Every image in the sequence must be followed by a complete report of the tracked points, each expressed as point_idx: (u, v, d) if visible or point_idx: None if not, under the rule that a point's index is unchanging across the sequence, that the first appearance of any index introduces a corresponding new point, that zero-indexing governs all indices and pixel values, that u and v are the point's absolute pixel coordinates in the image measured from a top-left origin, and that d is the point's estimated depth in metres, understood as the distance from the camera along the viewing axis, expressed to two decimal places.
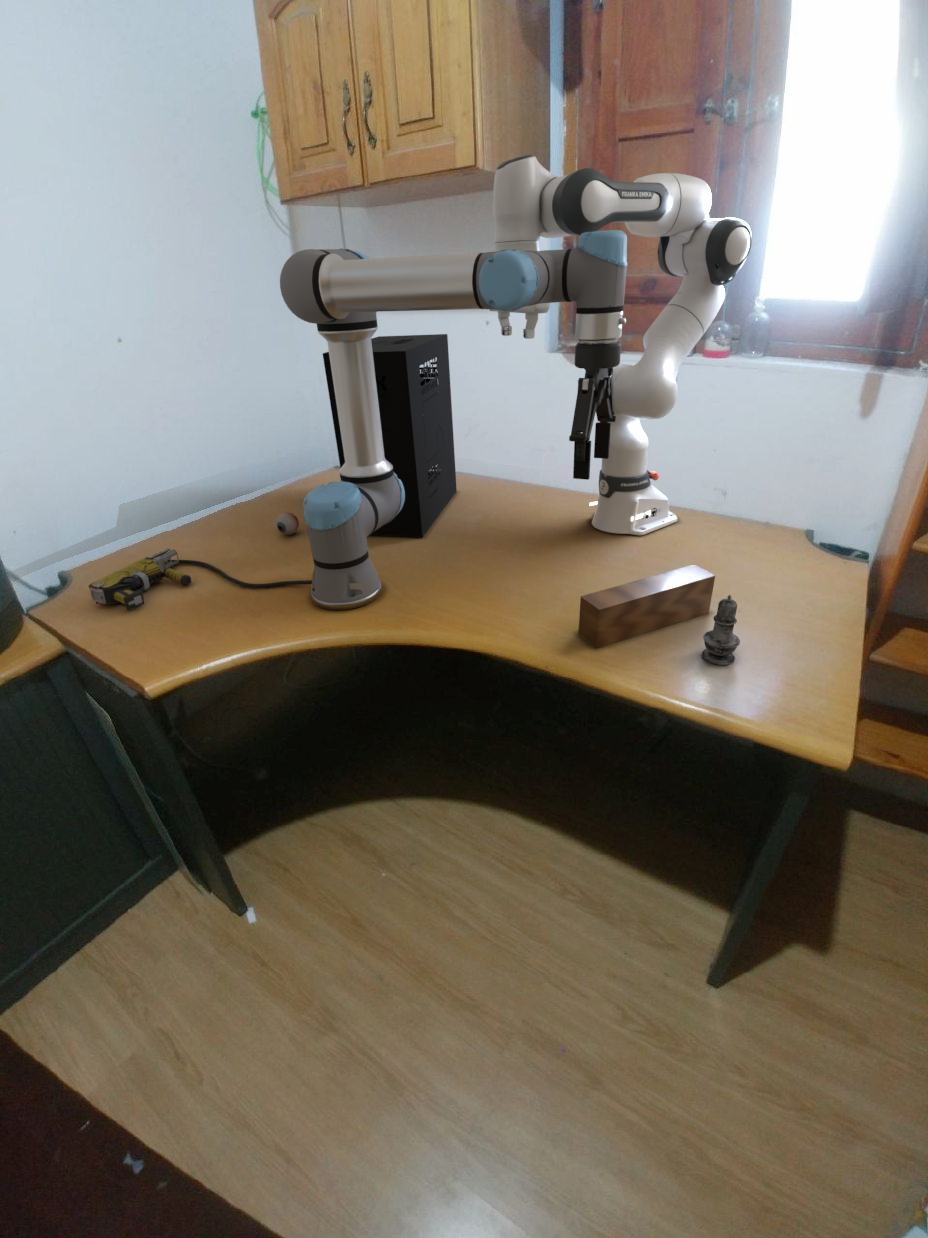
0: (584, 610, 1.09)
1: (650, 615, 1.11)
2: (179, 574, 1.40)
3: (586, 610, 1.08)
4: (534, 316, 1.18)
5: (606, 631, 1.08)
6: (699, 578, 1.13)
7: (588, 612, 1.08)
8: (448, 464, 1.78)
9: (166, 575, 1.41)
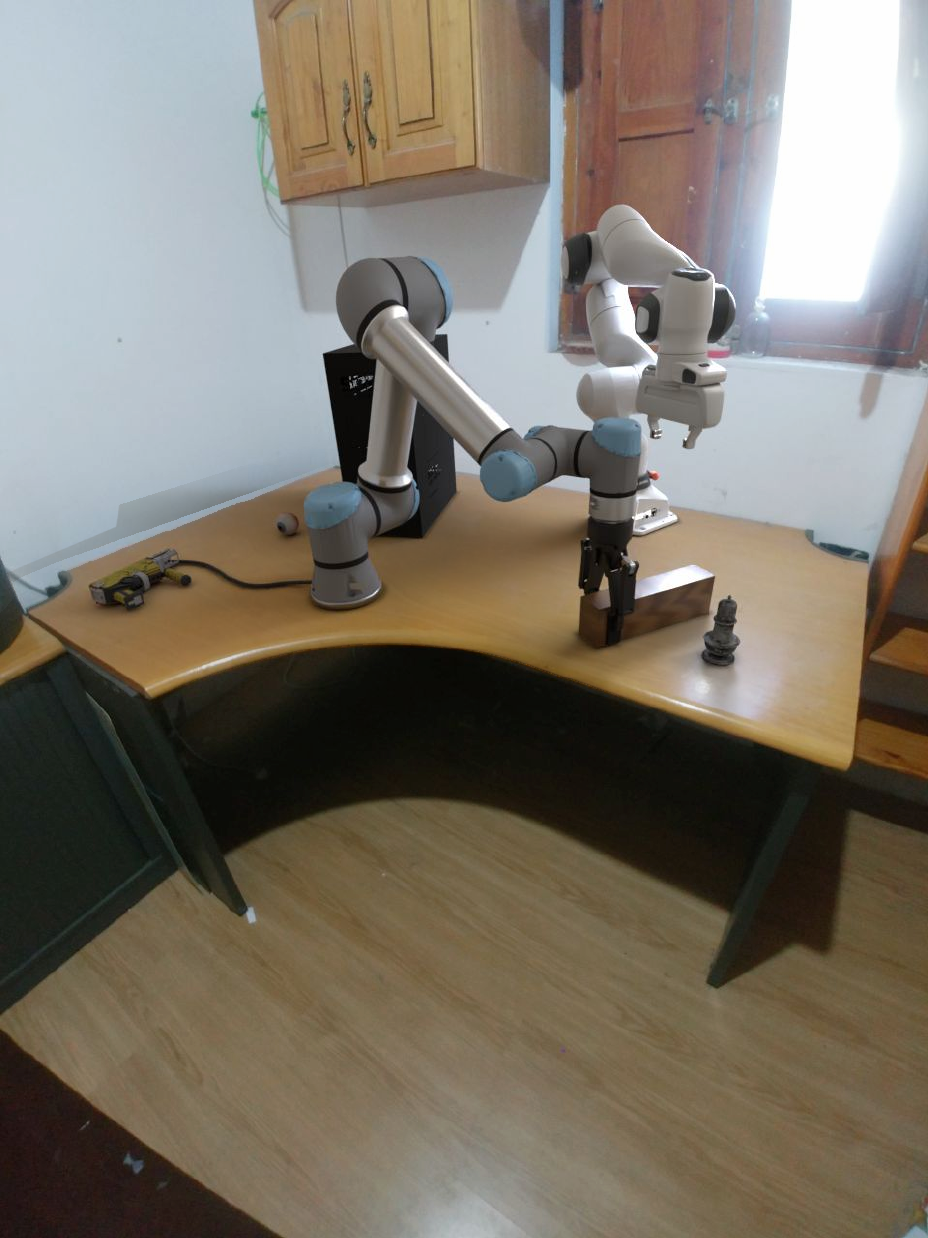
0: (584, 610, 1.09)
1: (650, 615, 1.11)
2: (179, 574, 1.40)
3: (586, 610, 1.08)
4: None
5: (606, 631, 1.08)
6: (699, 578, 1.13)
7: (588, 612, 1.08)
8: (448, 464, 1.78)
9: (166, 575, 1.41)
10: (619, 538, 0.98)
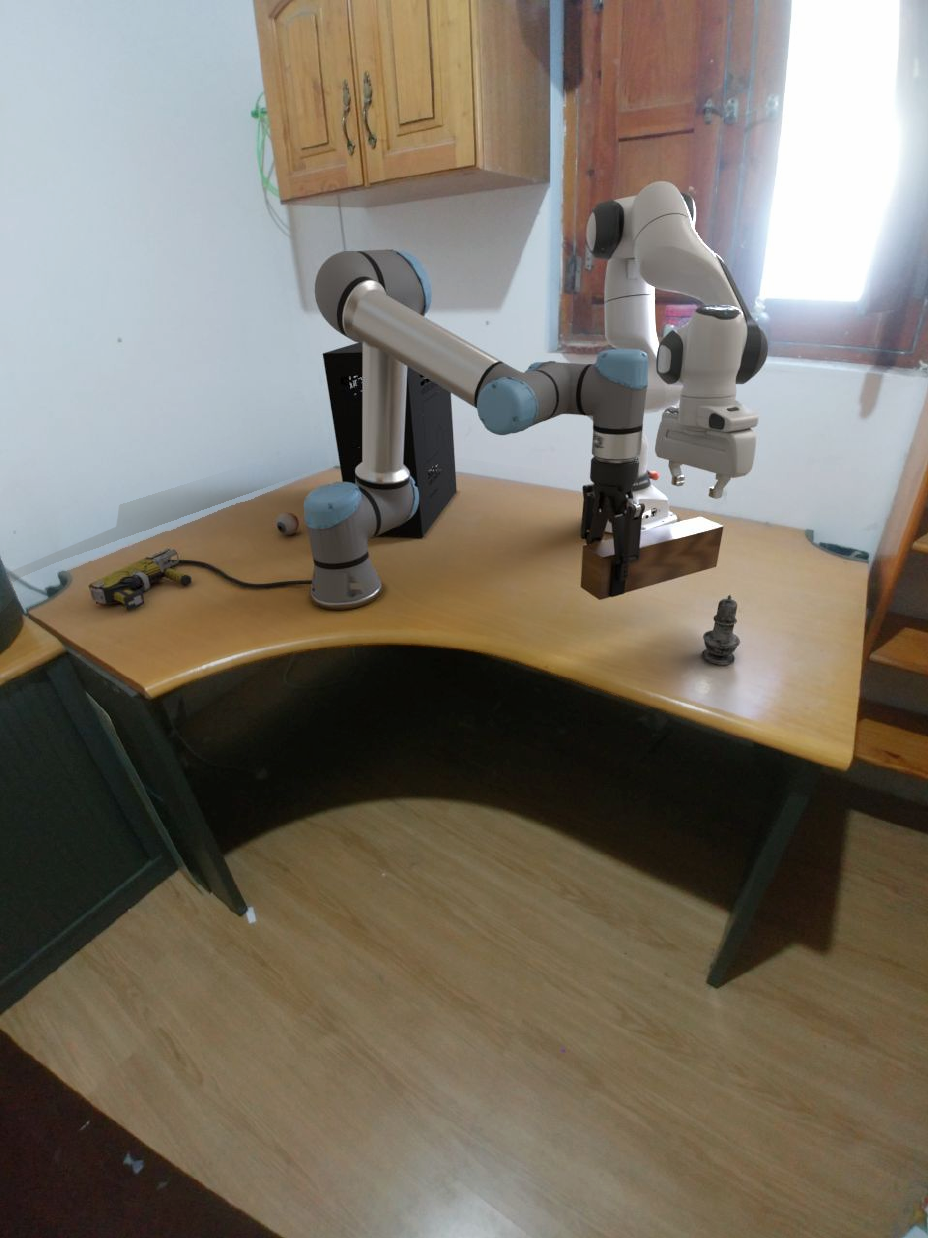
0: (586, 560, 1.04)
1: (655, 566, 1.06)
2: (179, 574, 1.40)
3: (589, 559, 1.03)
4: None
5: None
6: (707, 529, 1.08)
7: (591, 562, 1.03)
8: (448, 464, 1.78)
9: (166, 575, 1.41)
10: (624, 479, 0.93)
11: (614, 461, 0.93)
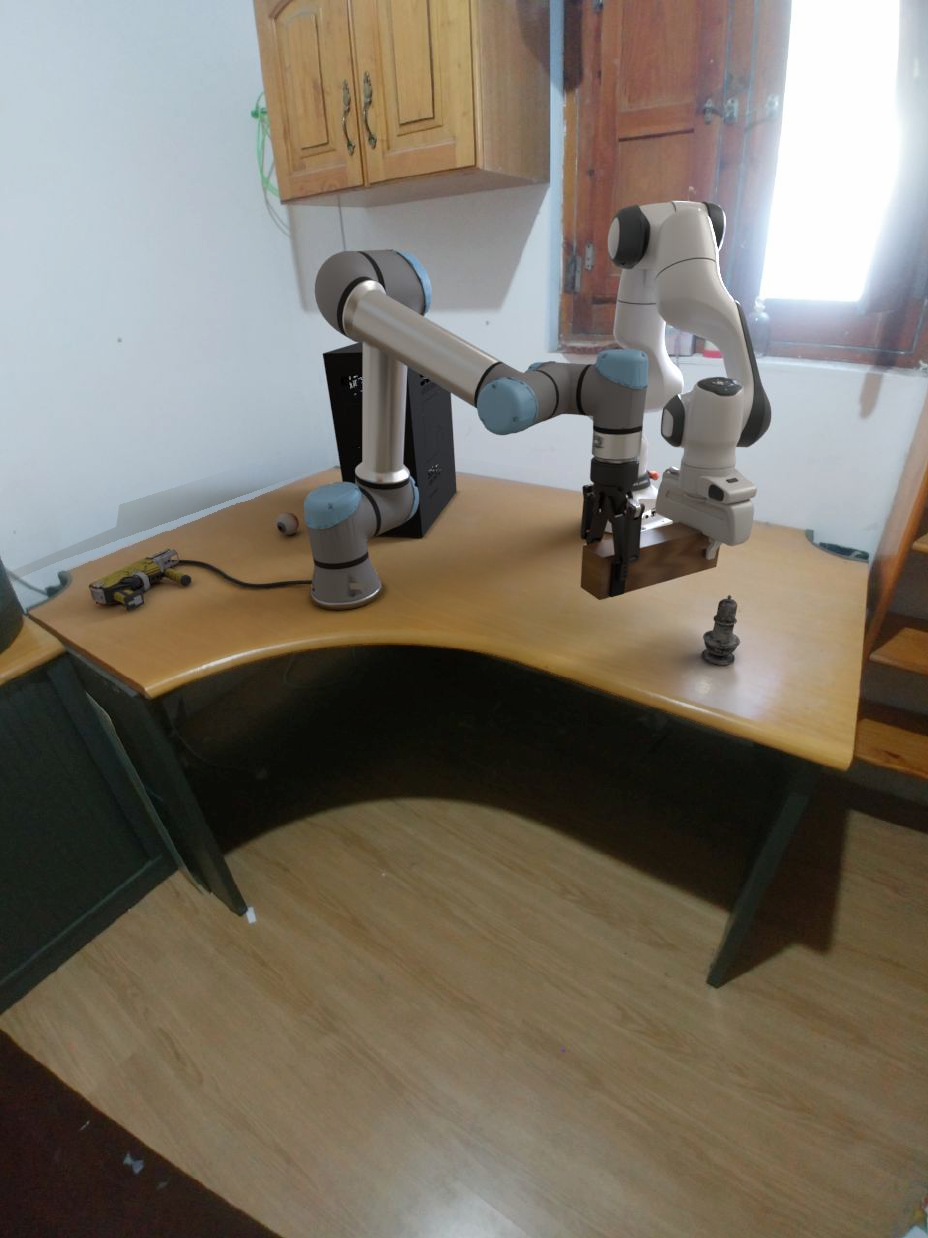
0: (586, 560, 1.04)
1: (655, 566, 1.06)
2: (179, 574, 1.40)
3: (589, 560, 1.03)
4: None
5: None
6: None
7: (591, 562, 1.03)
8: (448, 464, 1.78)
9: (166, 575, 1.41)
10: (624, 479, 0.93)
11: (614, 461, 0.93)
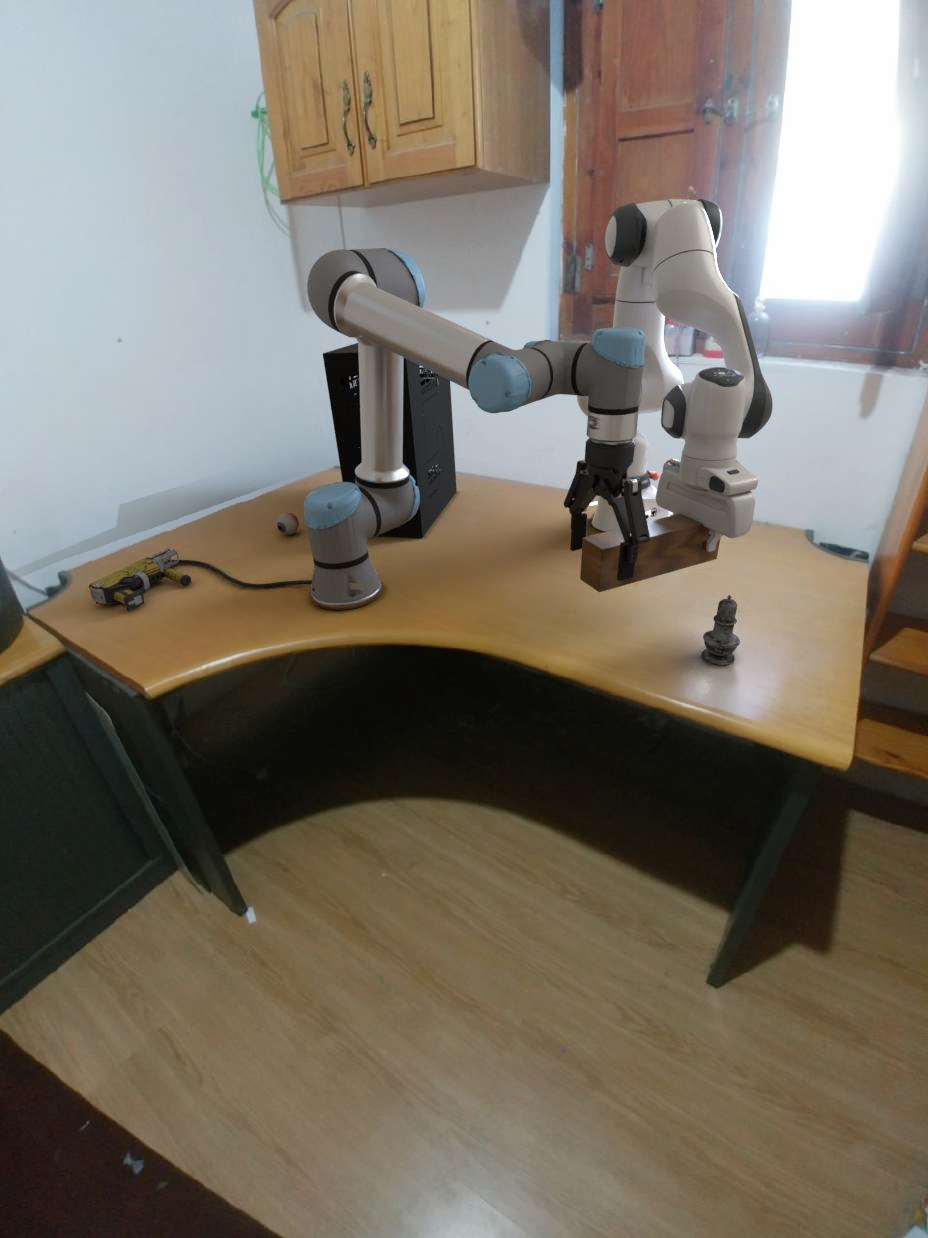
0: (586, 552, 1.04)
1: (655, 558, 1.05)
2: (179, 574, 1.40)
3: (589, 551, 1.03)
4: None
5: (610, 574, 1.02)
6: None
7: (591, 554, 1.02)
8: (448, 464, 1.78)
9: (166, 575, 1.41)
10: (620, 461, 0.92)
11: (609, 443, 0.91)
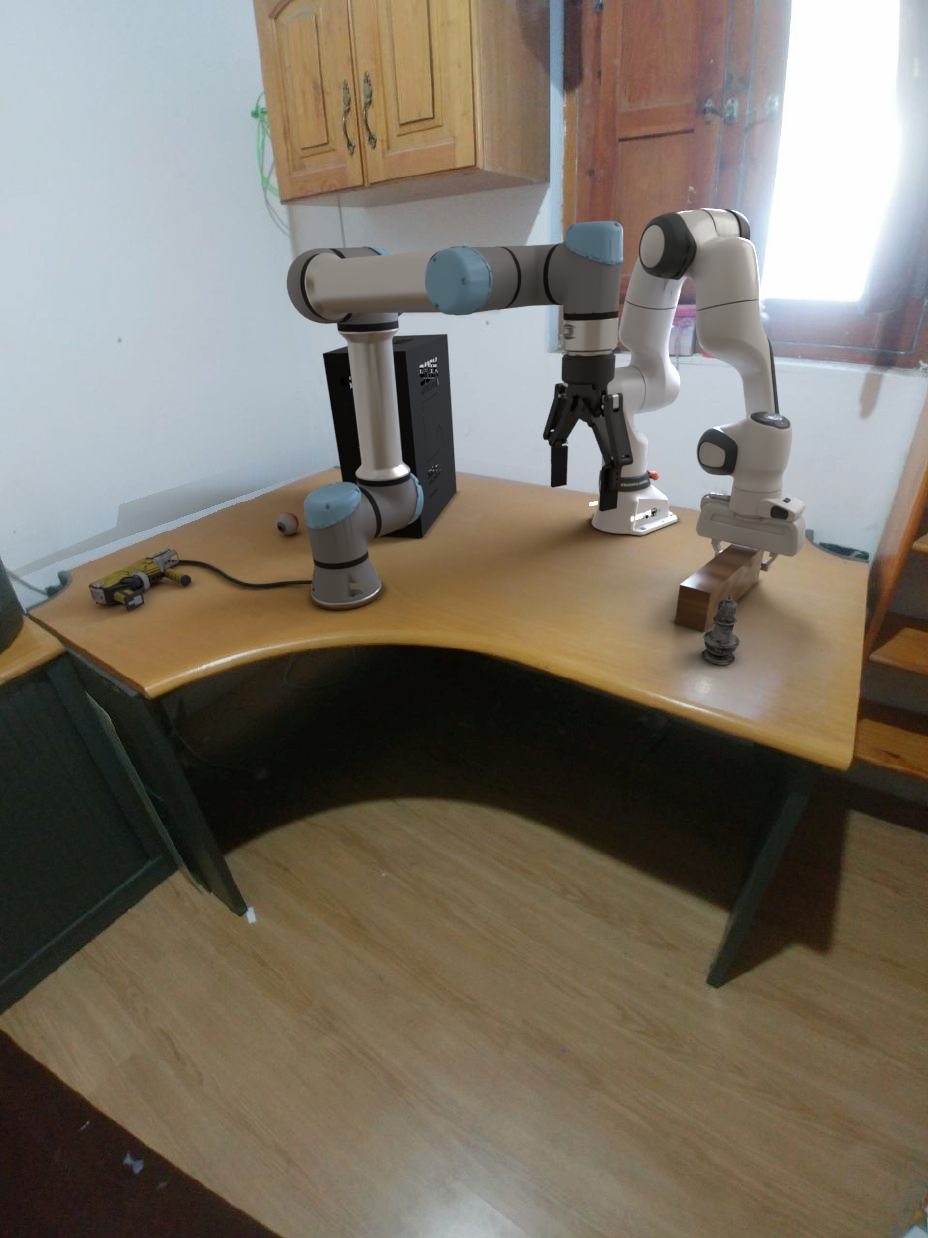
0: (686, 597, 1.11)
1: (732, 591, 1.17)
2: (179, 574, 1.40)
3: (690, 596, 1.11)
4: None
5: (710, 613, 1.11)
6: (756, 550, 1.22)
7: (692, 598, 1.10)
8: (448, 464, 1.78)
9: (166, 575, 1.41)
10: (598, 374, 0.83)
11: (587, 353, 0.83)
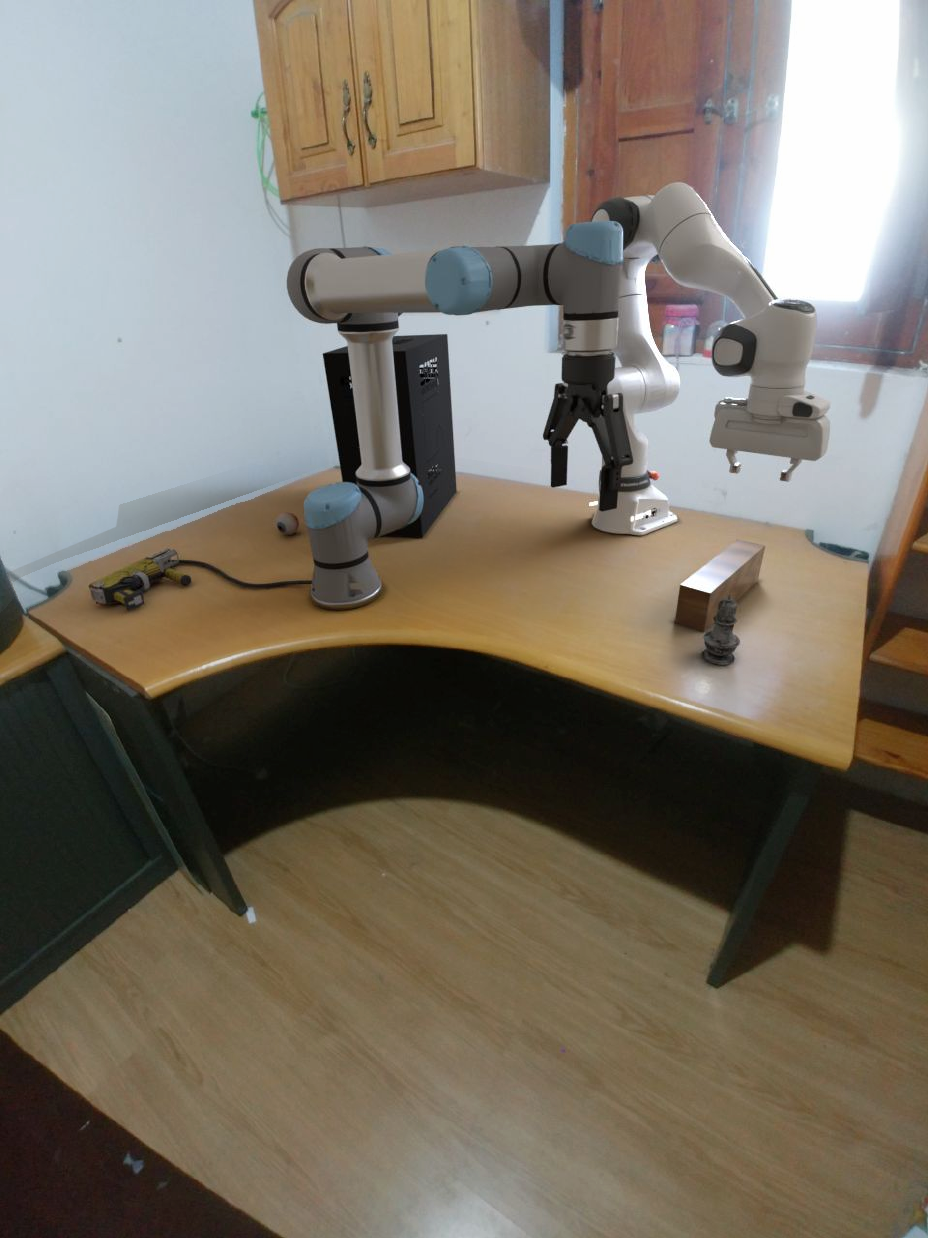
0: (686, 597, 1.11)
1: (732, 591, 1.17)
2: (179, 574, 1.40)
3: (690, 596, 1.11)
4: None
5: (710, 613, 1.11)
6: (756, 550, 1.22)
7: (692, 598, 1.10)
8: (448, 464, 1.78)
9: (166, 575, 1.41)
10: (598, 374, 0.83)
11: (587, 353, 0.83)
